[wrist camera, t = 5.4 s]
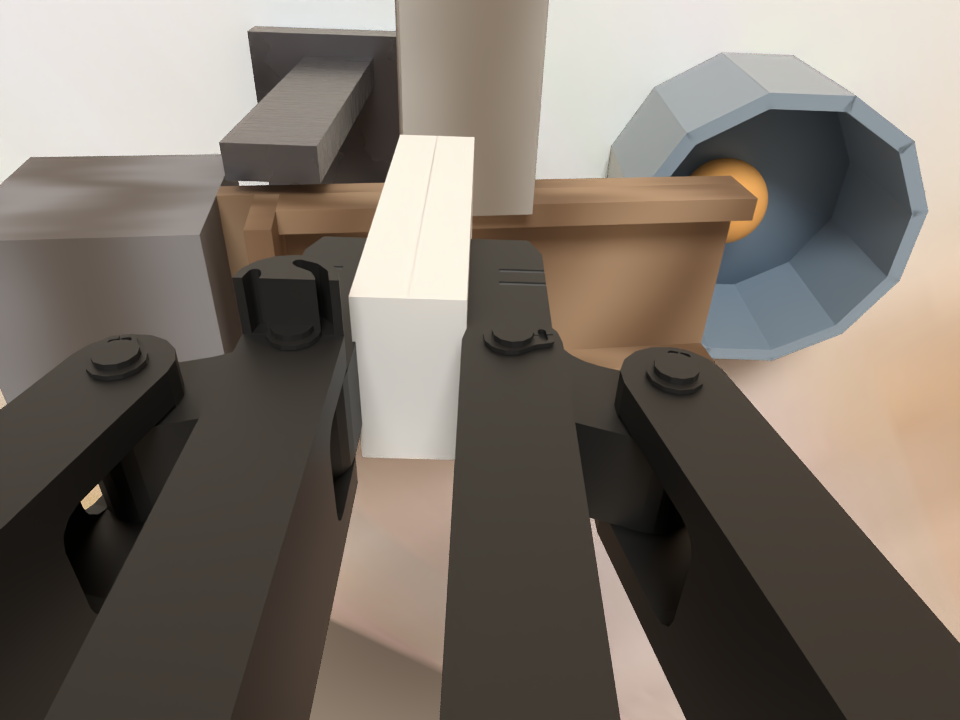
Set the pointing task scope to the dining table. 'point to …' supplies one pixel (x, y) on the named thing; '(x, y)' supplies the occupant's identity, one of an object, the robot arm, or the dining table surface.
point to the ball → (749, 180)
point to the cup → (786, 195)
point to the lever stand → (317, 108)
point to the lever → (359, 218)
